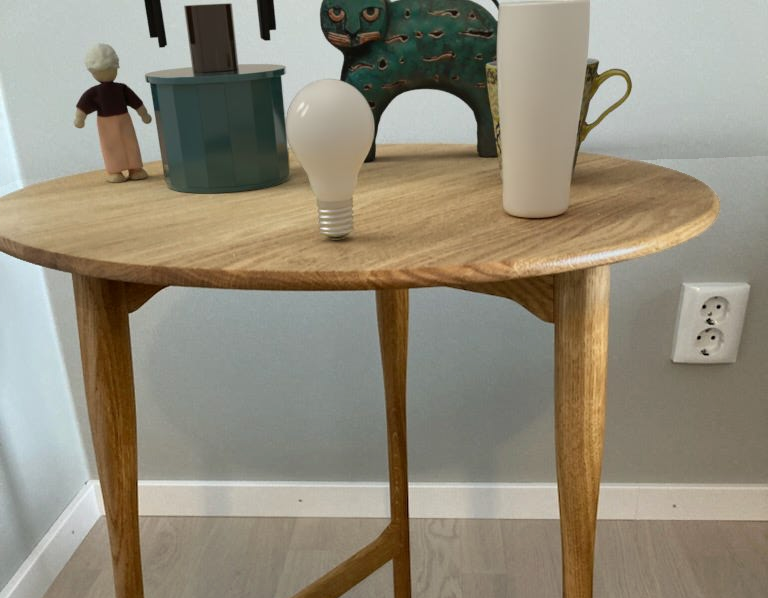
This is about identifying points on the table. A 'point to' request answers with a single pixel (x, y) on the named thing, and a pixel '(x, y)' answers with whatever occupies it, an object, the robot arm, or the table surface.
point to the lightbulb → (331, 147)
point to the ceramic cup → (589, 90)
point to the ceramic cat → (416, 53)
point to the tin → (222, 135)
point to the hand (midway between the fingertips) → (214, 43)
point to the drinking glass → (540, 101)
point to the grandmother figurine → (112, 115)
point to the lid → (213, 51)
